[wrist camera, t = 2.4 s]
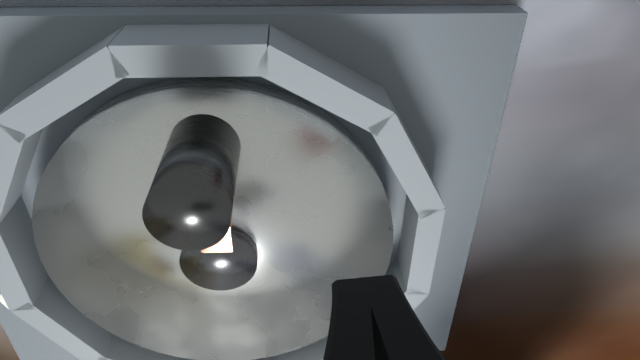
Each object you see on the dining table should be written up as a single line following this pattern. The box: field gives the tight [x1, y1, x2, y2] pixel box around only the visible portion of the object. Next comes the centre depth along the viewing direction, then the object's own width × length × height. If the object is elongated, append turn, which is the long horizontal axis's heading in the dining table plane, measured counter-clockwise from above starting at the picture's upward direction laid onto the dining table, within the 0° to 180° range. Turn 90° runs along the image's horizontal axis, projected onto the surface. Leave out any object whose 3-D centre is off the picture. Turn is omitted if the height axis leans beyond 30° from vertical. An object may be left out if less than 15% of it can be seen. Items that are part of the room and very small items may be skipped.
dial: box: [32, 77, 394, 360], centre depth 19 cm, size 14×14×5 cm
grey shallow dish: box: [0, 5, 528, 360], centre depth 21 cm, size 18×22×3 cm
